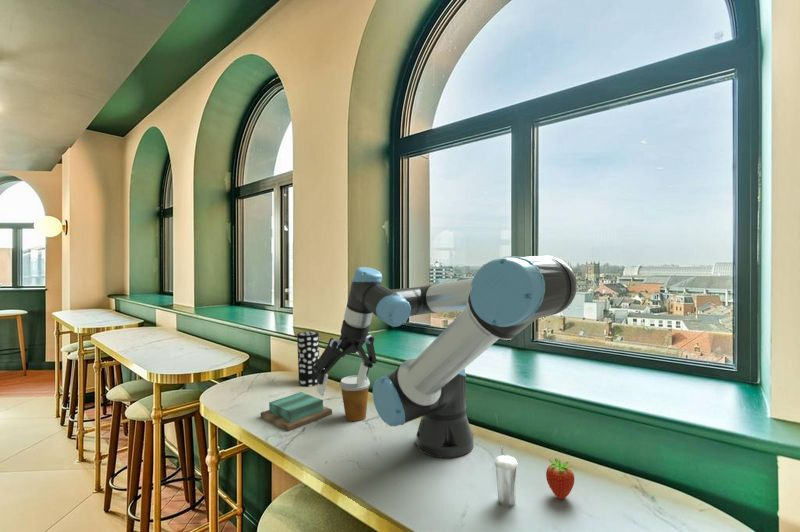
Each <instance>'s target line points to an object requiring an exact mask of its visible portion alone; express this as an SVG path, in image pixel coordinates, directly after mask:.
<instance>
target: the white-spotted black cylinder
mask: <svg viewBox="0 0 800 532" xmlns="http://www.w3.org/2000/svg"><path fill="white" fill-rule="evenodd" d="M296 338H297V339H296V340H297V366H298V367H297V369H298V370H297V371H298V385H299V386H300V387H305V388H308V387H315V386H318V382H317V377H318V374H317V373H316V372H315V371H314V369H313V367H314V365H315V364H316V362H317V361H318V359H319V358H320V340H319V339H320V338H319V332H318V331H303V332H298V333H297V334H296Z"/></svg>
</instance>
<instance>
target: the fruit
mask: <svg viewBox="0 0 800 532" xmlns="http://www.w3.org/2000/svg"><path fill="white" fill-rule="evenodd" d="M548 460H549V462H550V463H551V464H550V465H549V466H548V467H547V468H546V470H545V478H546V482H547V484H548V486H549V488H550V490H551V491H552V493H553V494H554V495H555V497H557V498H558V499H559V500H564V499H566V498H567V497H568V496H569V495H570V493H571V492H572V490H573V487H574V485H575V475H574V472H573V470H572V469H571V467H572V465H570V466H568V463H569V461H565V462H564V463H563V462H561V460H559V459H558V458H557V457H555V458H554V461H553V460H551V459H548Z"/></svg>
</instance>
